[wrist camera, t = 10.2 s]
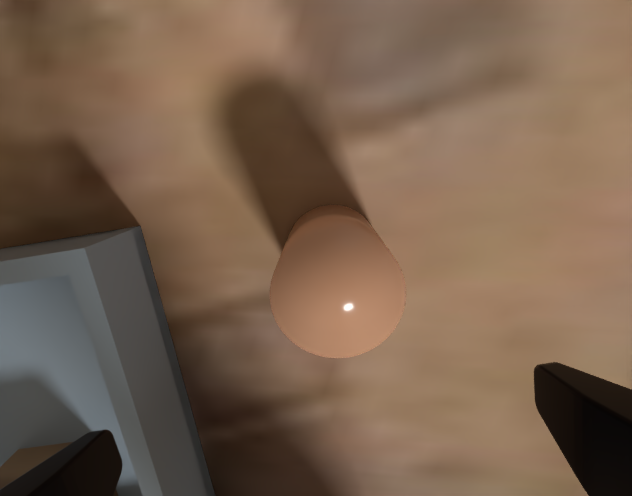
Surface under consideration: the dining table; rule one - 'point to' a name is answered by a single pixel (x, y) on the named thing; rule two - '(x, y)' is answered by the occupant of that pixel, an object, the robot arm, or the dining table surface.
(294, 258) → the terracotta capsule
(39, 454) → the walnut block
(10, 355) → the tote
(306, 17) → the dining table surface
